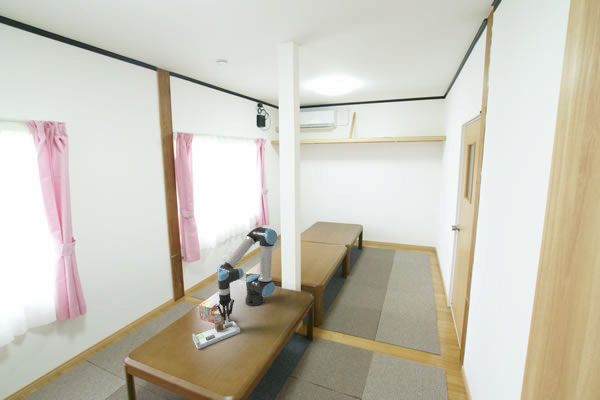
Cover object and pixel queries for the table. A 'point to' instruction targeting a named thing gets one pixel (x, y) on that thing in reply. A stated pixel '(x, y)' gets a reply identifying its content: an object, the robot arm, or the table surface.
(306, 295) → the table surface
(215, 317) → the stack of blocks
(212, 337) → the box
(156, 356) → the table surface
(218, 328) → the walnut block
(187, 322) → the table surface
